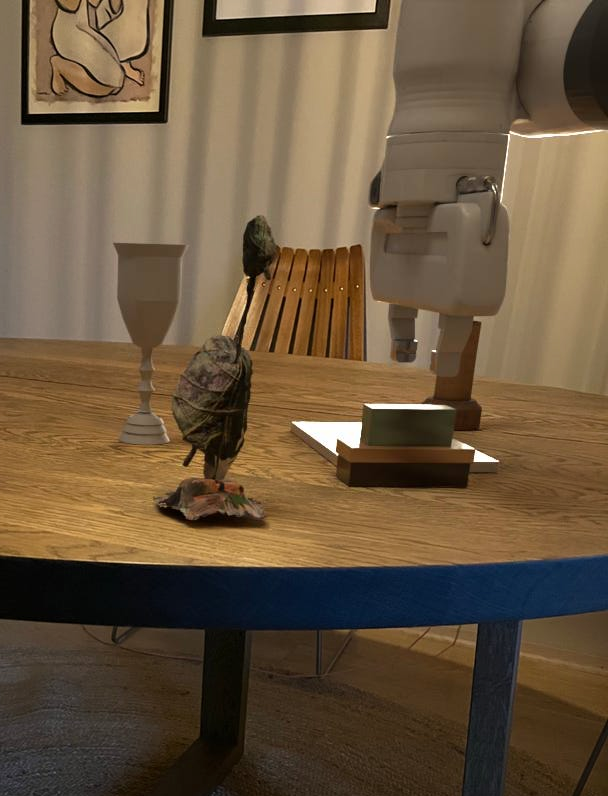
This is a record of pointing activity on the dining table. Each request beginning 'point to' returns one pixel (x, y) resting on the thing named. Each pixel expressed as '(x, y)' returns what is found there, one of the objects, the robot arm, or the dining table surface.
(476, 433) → the dining table surface
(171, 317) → the chalice
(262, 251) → the plant with pod
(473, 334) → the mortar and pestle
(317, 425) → the tile
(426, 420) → the brush
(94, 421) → the dining table surface
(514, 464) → the dining table surface
